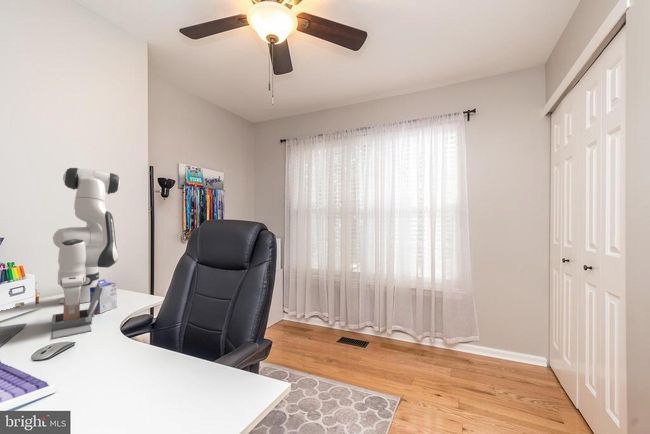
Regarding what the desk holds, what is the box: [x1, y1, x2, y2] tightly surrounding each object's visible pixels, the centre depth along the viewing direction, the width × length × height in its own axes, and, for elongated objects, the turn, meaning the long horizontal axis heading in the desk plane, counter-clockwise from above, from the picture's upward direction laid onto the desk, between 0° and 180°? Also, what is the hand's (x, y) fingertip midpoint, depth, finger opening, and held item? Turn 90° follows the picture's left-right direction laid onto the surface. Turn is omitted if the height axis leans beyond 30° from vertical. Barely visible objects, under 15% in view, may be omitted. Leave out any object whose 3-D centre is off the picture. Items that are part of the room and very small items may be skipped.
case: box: [51, 282, 103, 333], centre depth 119 cm, size 16×16×15 cm
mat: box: [52, 324, 92, 340], centre depth 110 cm, size 8×11×1 cm
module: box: [62, 297, 81, 322], centre depth 119 cm, size 5×5×11 cm
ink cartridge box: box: [89, 279, 118, 315], centre depth 135 cm, size 10×6×14 cm, turn 174°
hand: (71, 311), depth 119 cm, fingers closed on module, 5 cm apart
